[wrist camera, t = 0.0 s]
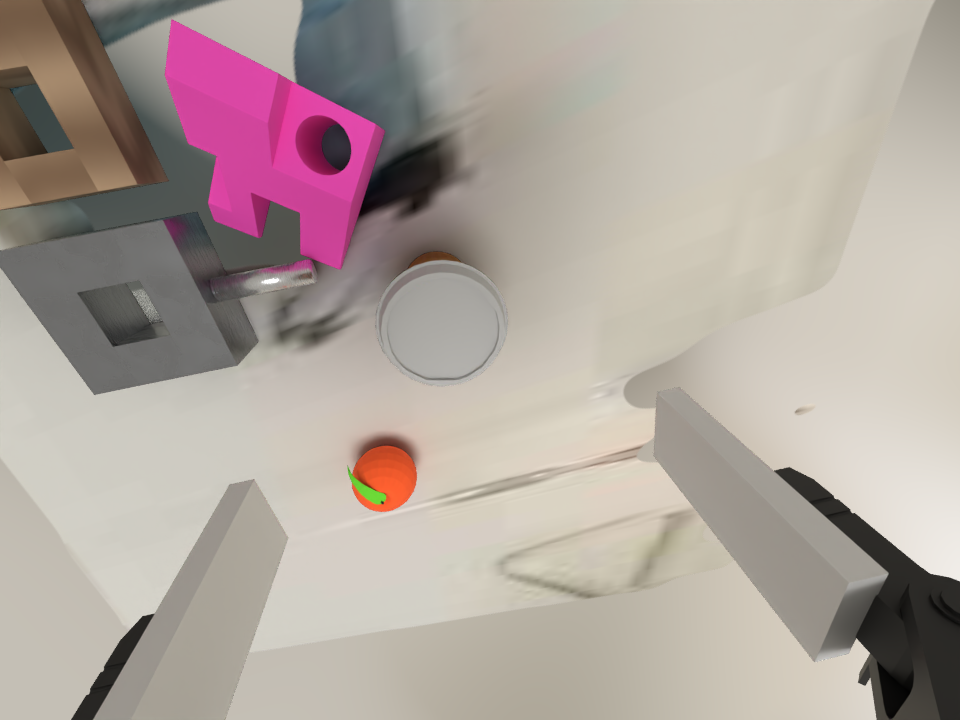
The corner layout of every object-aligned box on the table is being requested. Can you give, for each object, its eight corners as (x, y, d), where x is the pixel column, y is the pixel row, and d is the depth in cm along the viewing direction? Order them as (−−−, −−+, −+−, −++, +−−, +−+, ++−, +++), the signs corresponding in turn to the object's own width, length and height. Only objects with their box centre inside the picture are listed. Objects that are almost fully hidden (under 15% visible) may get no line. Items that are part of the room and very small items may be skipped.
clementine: (336, 458, 46) (323, 506, 40) (371, 418, 44) (362, 461, 38) (394, 487, 49) (390, 536, 43) (429, 450, 47) (430, 495, 41)
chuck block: (48, 239, 32) (-11, 252, 28) (294, 193, 33) (274, 199, 29) (132, 367, 38) (94, 394, 34) (340, 324, 39) (330, 346, 34)
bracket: (248, 61, 29) (171, 19, 20) (385, 130, 32) (371, 120, 23) (218, 219, 34) (144, 242, 25) (341, 267, 37) (315, 303, 28)
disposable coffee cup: (368, 300, 38) (348, 355, 28) (419, 211, 35) (419, 235, 25) (452, 346, 42) (464, 411, 31) (505, 269, 39) (538, 311, 28)
